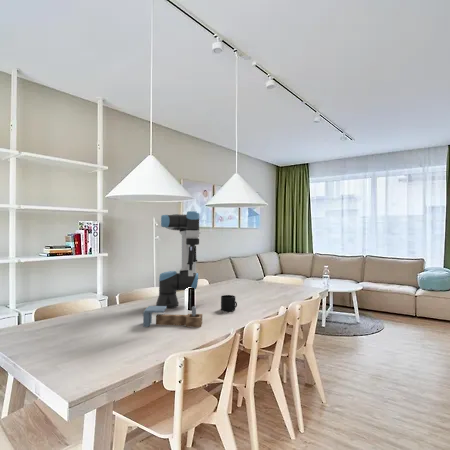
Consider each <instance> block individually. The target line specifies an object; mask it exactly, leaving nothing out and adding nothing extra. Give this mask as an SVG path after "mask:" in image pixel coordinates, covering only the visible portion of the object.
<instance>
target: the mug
mask: <svg viewBox="0 0 450 450" xmlns="http://www.w3.org/2000/svg"><path fill="white" fill-rule="evenodd" d="M237 306H238V302H237V301H236V296H235V295H233V294H223V295H221V296H220V310H221V311H222V312H225V313H230V312H235V311H236V308H237Z"/></svg>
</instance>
